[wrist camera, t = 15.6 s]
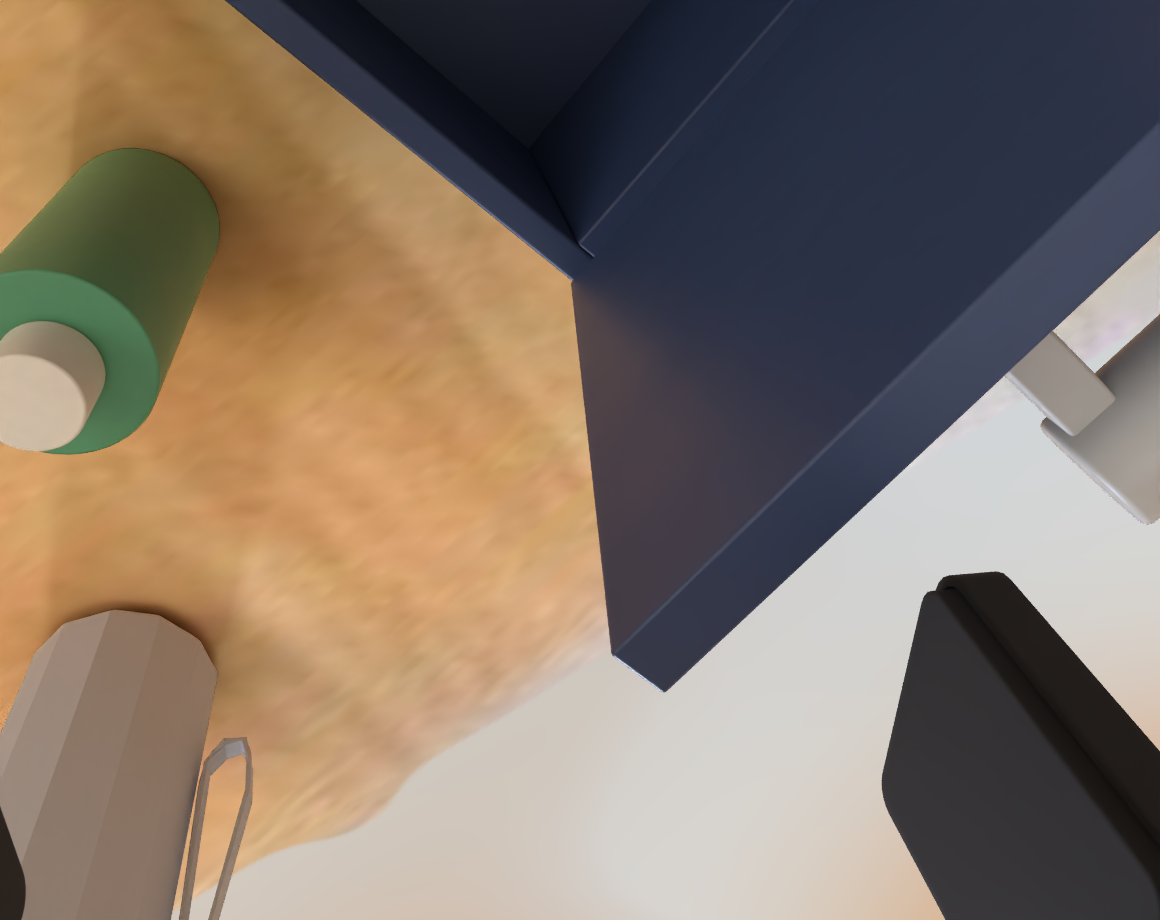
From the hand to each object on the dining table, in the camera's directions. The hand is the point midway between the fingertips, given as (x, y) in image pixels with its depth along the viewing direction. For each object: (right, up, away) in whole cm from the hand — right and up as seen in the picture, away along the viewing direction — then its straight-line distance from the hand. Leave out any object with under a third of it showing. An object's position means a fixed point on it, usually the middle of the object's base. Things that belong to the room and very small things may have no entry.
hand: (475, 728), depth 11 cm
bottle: (-13, +10, +24) cm, 30 cm away
